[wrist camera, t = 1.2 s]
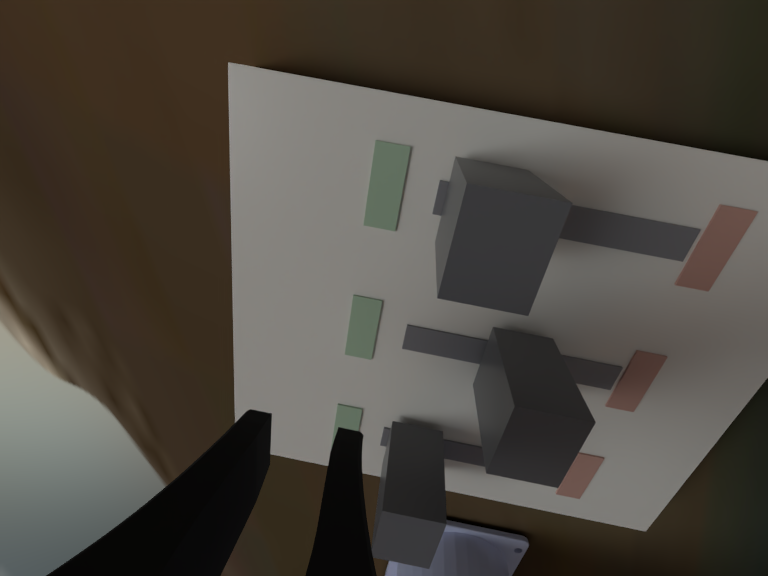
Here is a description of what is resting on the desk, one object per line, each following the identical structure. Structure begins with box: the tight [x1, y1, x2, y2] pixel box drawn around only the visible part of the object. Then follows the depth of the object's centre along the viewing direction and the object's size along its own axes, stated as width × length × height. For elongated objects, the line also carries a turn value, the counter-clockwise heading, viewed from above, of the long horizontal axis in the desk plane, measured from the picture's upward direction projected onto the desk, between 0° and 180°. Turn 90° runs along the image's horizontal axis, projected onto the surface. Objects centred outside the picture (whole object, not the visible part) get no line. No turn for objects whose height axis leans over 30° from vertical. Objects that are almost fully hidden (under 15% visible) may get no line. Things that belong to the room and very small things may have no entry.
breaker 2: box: [435, 156, 572, 316], centre depth 11 cm, size 3×2×4 cm
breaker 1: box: [371, 421, 447, 569], centre depth 17 cm, size 3×2×4 cm
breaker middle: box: [473, 327, 596, 488], centre depth 14 cm, size 3×2×4 cm
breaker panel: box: [228, 62, 768, 531], centre depth 17 cm, size 18×22×2 cm
